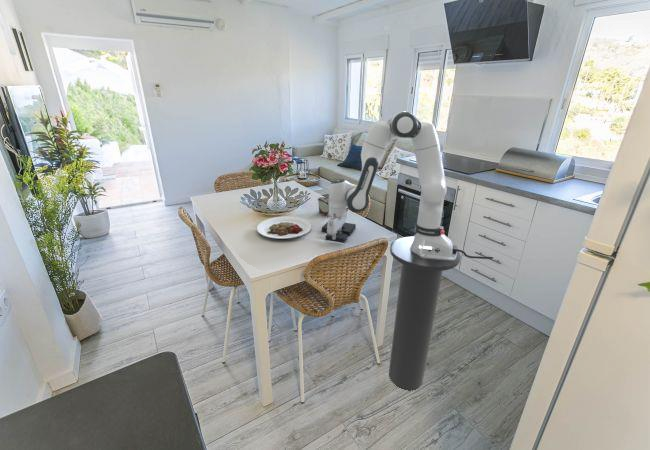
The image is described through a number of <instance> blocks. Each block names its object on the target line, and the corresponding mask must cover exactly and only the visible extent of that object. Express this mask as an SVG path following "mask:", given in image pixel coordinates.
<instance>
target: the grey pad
mask: <svg viewBox="0 0 650 450" xmlns="http://www.w3.org/2000/svg"><path fill="white" fill-rule="evenodd" d="M347 240H348V236H347V234H342V232H341V233H337V232H336V239H335V240H334V239H332V235H329V234H327V233H326V235H325V241H328V242H335V243H340V244H345V243H346V241H347Z"/></svg>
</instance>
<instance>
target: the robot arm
mask: <svg viewBox="0 0 650 450" xmlns="http://www.w3.org/2000/svg"><path fill="white" fill-rule="evenodd" d="M437 133H438V132H437V130H436V128H435V125H434V123H432V122H430V121H419V119H418V118H417V117H416V116H415V115H414V114H413V113H412V112H409V111H399V112H397V113H396V114H394V116H392V117H391V118H390V119H389V120H387V121H385V120H376V121H374V122H373V123H372V125H371V126H370V128H369V130H368V131H367V134H366V136H365V139H364V140H363V144H362V146H361V151H360V159H361V172H360V175H359V178H358V181H357V183H356V184H353V183H351V182H349V181H347V180H346V179H345V178H336V179H334V180H332V181H331V182H330V184H329V187H328V198H329V200H330V202H329V215H330V216H329V217H330V218H328V219H327V222H328V224H327V232H326V235H327V234H329V235H332V239H334V240H335V239H336V233H342V231H341V229H342V225H343V224H344V223H347V222H346V221H347V216H348V211H351V212H352V213H355V214H357V213H363V212H364V211H366V209H368V207H369V205H370V198H369V195H370V191H371V188H372V185H373V183H374V180H375V176H376V174H377V171H378V169H379V166H380V165H381V162H382V160H383V159H384V156H385V154H386V152H387V149H388V146H389V144H390V142H391V141H392V139H393V138H395V137H398V138H404V139H405V138H408V139H411V142H412V146H413V151H414V155H415V160H416V165H417V173H418V179H419V186H420V191H421V192H420V198H419V206H418V211H417V212H418V213H417V219H416V223H415V227H414V236H415V237H414V240H413V243H412V245H411V247H410V249H411V251H412V252H414V253H415V254H417V255H419V256H420V257H421V258H426V259H437V260H448V261H453V260H455V259H456V257H457V251H459V253H462V254H463V255H464V256H465V257H466V258H470V259H480V260H481V259H482V260H493V259H494V257H493V256H479V255H476V256H475V255H469V254H467V253H466V252H465V251H464V250H462V249H458V246H457V245H454V244H453V241H452V240H451V239H450V238H449V237H448V236H447V235H446V234H445V233H446V231H445V228H444V226H442V225H441V223H442V216H443V212H444V211H443V210H444V202H445V197H446V195H447V192H448V187H447V180H446V176H445V170H444V164H443V157H442V152H441V147H440V141H439V136H438V134H437Z"/></svg>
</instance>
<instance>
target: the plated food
mask: <svg viewBox="0 0 650 450" xmlns="http://www.w3.org/2000/svg"><path fill="white" fill-rule="evenodd" d="M311 230H312V224H311V222H310V221H309V220H307V219H305V218H302V217H299V216H298V217H297V216H292V215H291V216H287V215H285V216H275V217H270V218H267V219H265V220H263V221H261V222H259V224H257V226H256V231H257V232H258V234H260V235H261V236H263V237H266V238H269V239H277V240H279V239H281V240H284V239H294V238H298V237H302V236H305V235H306V234H308V233H309V232H310V231H311Z"/></svg>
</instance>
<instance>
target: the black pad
mask: <svg viewBox="0 0 650 450" xmlns="http://www.w3.org/2000/svg"><path fill="white" fill-rule="evenodd" d="M327 224H328V221H327V222H326V223H324V224H323V226H322V227H321V232H323V233H327ZM356 226H357V224H356V223H350V222H345V223H344V224H343V225H342V229H341V233H342V234H347V237H350V236H351V235H352V234H353V232H354V231H355V229H356Z"/></svg>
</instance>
